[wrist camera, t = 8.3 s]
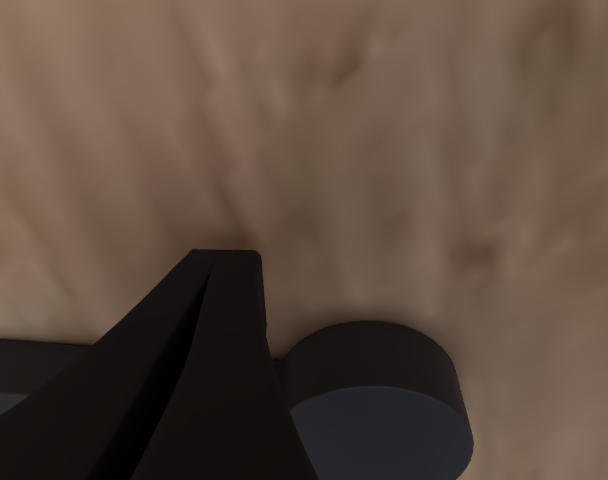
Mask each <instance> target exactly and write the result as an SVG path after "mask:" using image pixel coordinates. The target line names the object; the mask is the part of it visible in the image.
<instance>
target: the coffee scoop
mask: <svg viewBox="0 0 608 480" xmlns="http://www.w3.org/2000/svg"><path fill="white" fill-rule="evenodd" d="M89 348H90V346H77V345H64V344H50V343H37V342H23V341H10V340H0V415H1V414H3V413H4V412H6V411H7V410H9V409H10V408H12V407H13V406H15V405H16V404H18V403H19V402H21V401H22V400H23V399H25V398H26V397H28V396H29V395H30V394H32V393H33V392H34V391H36V390H37V389H38V388H40V387H41V386H42V385H44V384H45V383H47V382H48V381H49V380H51V379H52V378H53V377H55V376H56V375H57V374H59V373H60V372H61V371H62V370H64V369H65V368H66V367H67V366H69V365H70V364H71V363H72V362H74V361H75V360H76V359H77V358H79V357H80V356H81V355H82V354H83V353H85V352H86V351H87V350H88V349H89ZM272 361H273V364H274V368H275V371H276V374H277V377H278V380H279V383H280V386H281V389H282V392H283V395H284V398H285V400H286V403H287V406H288V409H289V411H290V414H291V416H292V419H293V421H294V424H295V426H296V429H297V431H298V434H299V436H300V439H301V441H302V443H303V445H304V448H305V450H306V452H307V454H308V456H309V459H310V461H311V463H312V465H313V467H314V469H315V472H316V474H317V476H318V478H319V480H456V479H457V478H458V477H459V476H460V475H461V474H462V473H463V472H464V470H465V469H466V468H467V466H468V464H469V462H470V460H471V457H472V454H473V446H474V441H473V435H472V431H471V427H470V423H469V420H468V416H467V412H466V408H465V404H464V401H463V397H462V393H461V389H460V385H459V382H458V378H457V374H456V370H455V368H454V365H453V363H452V361H451V359H450V358H449V356H448V355H447V353H446V352H445V351H444V350H443V349H442V348H441V347H440V346H439V345H438V344H437V343H436V342H434V341H433V340H432V339H430V338H428V337H427V336H425V335H423V334H421V333H419V332H417V331H415V330H412V329H410V328H407V327H404V326H400V325H395V324H391V323H383V322H352V323H346V324H340V325H336V326H333V327H329V328H326V329H324V330H321V331H319V332H316V333H314V334H313V335H311V336H309V337H307V338H306V339H304V340H303V341H301V342H300V343H298V344H297V345H296V346H295V347H294V348H293V349H292V350H291V351H290V352H289V354H288V355H287V356H286V357H285V359H284V361H279V360H272Z"/></svg>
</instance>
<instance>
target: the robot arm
mask: <svg viewBox="0 0 608 480" xmlns="http://www.w3.org/2000/svg"><path fill="white" fill-rule="evenodd" d="M266 327H267V323H266V310H265V298H264V285H263V272H262V259H261V255H260V254H259V253H258V252H257V251H255V250H205V249H192V250H191V251H190V252H189V253H188V254H187V255H186V256H185V257H184V258H183V259H182V260H181V261H180V262H179V263H178V264H177V265H176V266H175V267H174V268H173V269H172V270H171V271H170V272H169V273H168V274H167V275H166V276H165V277H164V278H163V279H162V280H161V281H160V282H159V283H158V284H157V285H156V286H155V287H154V288H153V289H152V290H151V291H150V292H149V293H148V294H147V295H146V296H145V297H144V298H143V299H142V300H141V301H140V302H139V303H138V304H137V305H136V306H135V307H134V308H133V309H132V310H131V311H130V312H129V313H128V314H127V315H126V316H125V317H124V318H123V319H122V320H121V321H119V322H118V323H117V324H116V325H115V326H114V327H113V328H112V329H111V330H110V331H108V332H107V333H106V334H105V335H104V336H103V337H102V338H100V339H99V340H98V341H97V342H96V343H95V344H94V345H92V346H91V347H90V348H89V349H88V350H87V351H86V352H85V353H83V354H82V355H81V356H80V357H79V358H77V359H76V360H75V361H74V362H72V363H71V364H70V365H69V366H67V367H66V368H65V369H64V370H62V371H61V372H60V373H59V374H57V375H56V376H55V377H53V378H52V379H51V380H49V381H48V382H47V383H45V384H44V385H42V386H41V387H40V388H38V389H37V390H36V391H34V392H33V393H32V394H30V395H29V396H28V397H26V398H25V399H23V400H22V401H21V402H19V403H18V404H16V405H15V406H13V407H12V408H10V409H9V410H7V411H6V412H4V413H3V414H1V415H0V480H319V478H318V476H317V474H316V472H315V469H314V467H313V465H312V463H311V461H310V459H309V456H308V454H307V452H306V450H305V448H304V445H303V443H302V441H301V439H300V436H299V434H298V431H297V429H296V426H295V424H294V421H293V419H292V416H291V414H290V411H289V409H288V406H287V403H286V400H285V398H284V395H283V392H282V389H281V386H280V383H279V380H278V377H277V374H276V371H275V368H274V364H273V361H272V357H271V354H270V350H269V346H268V343H267V338H266Z"/></svg>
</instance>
